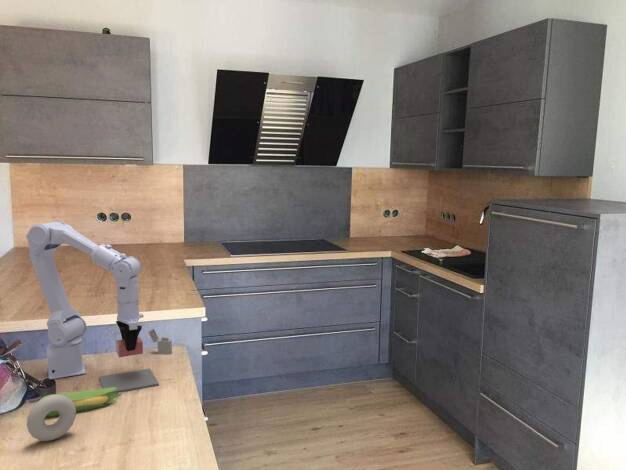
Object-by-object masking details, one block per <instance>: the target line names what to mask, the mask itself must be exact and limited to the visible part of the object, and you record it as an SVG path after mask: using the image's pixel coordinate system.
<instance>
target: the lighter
mask: <svg viewBox="0 0 626 470" xmlns="http://www.w3.org/2000/svg"><path fill="white" fill-rule="evenodd" d="M148 334H149V336H150V338H151V340H152V342H153V343H156V342H157V355H172V352H173V351H172V349H173V346H172V345H173V344H172V342H173V341H172V339H170V338H169V337H167V336H162V337H161V339H160V338H159V336H158V333H157V332H156V331H155V328H154V327H153V328H151V329H149V330H148Z"/></svg>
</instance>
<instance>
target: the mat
mask: <svg viewBox="0 0 626 470" xmlns="http://www.w3.org/2000/svg"><path fill="white" fill-rule="evenodd" d="M98 379H99V382H100V385H101V389H104V388H112V387H115V388H117V389H115V390H113V391H111V392H115V393H120V394H121V393H125V392H131V391H136V390H140V389H146V388H147V387H148V388H152V386H153V387H158V386H160V382H159V381H158V379H157V377H156V375H154V373H153V371H152V370H151V368H149V367H148V368H145V369H143V368H142V369H136V370H132V371H131V370H130V371H126V372H125V371H124V372H120V373H114V374H107V375H102V376H101V375H99V377H98Z"/></svg>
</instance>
